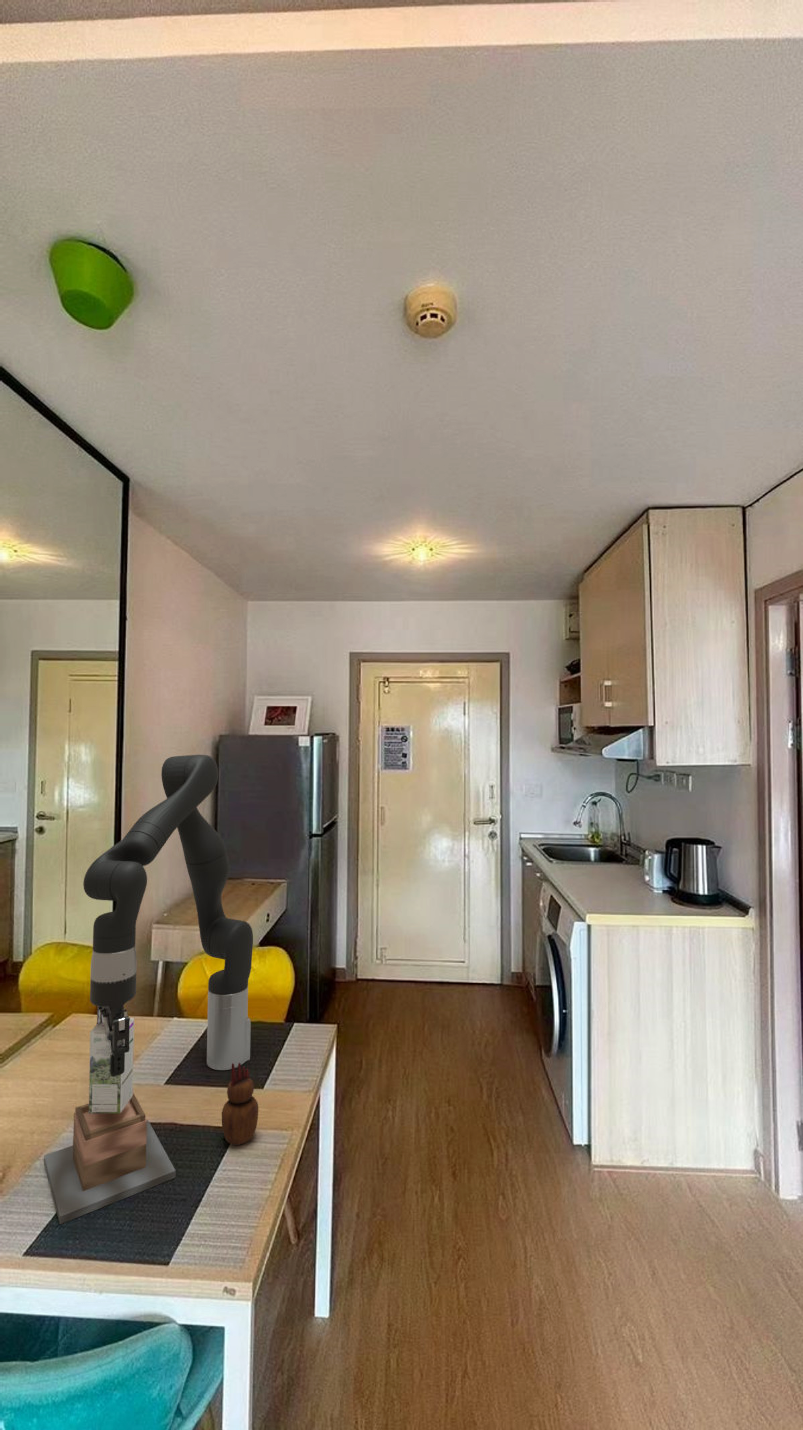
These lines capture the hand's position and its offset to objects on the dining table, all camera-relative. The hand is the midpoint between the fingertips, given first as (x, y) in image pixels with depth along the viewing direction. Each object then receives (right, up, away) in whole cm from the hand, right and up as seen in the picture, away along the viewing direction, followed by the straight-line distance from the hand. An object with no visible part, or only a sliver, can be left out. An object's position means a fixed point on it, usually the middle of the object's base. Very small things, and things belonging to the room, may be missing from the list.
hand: (111, 1064), depth 112 cm
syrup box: (0, -7, 0) cm, 7 cm away
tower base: (0, -18, -1) cm, 18 cm away
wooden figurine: (+21, -19, +8) cm, 29 cm away
